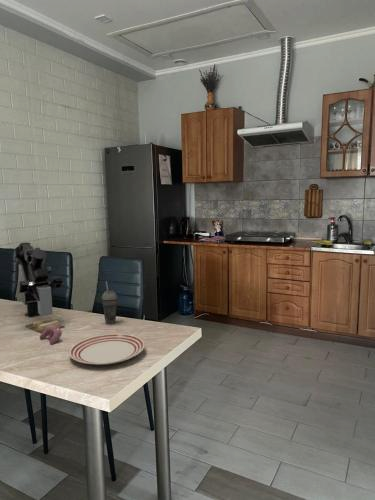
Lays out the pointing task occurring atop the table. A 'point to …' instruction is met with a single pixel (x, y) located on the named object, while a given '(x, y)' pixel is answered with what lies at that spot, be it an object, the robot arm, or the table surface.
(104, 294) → the beverage cup
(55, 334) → the video game controller
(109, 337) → the dinner plate
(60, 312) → the table surface
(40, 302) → the slate pillar block
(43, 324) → the build board
